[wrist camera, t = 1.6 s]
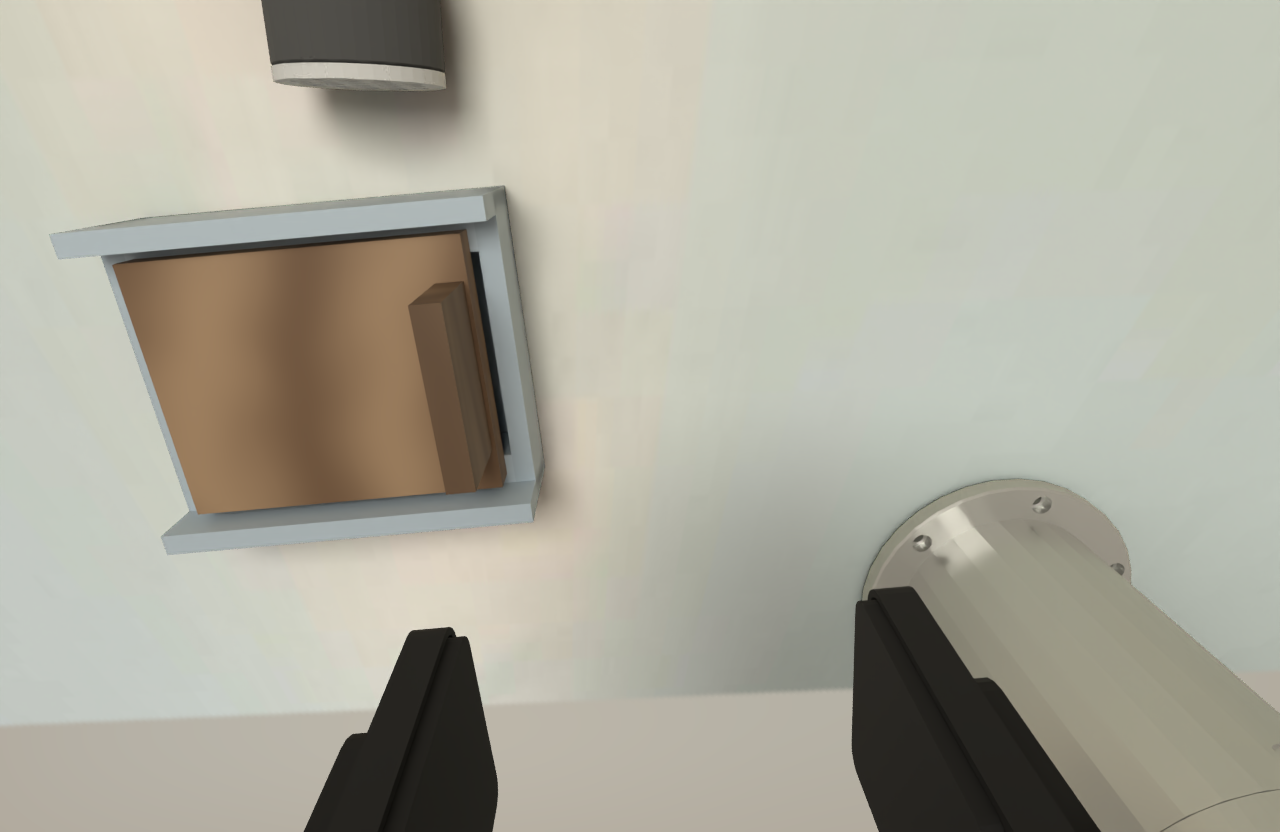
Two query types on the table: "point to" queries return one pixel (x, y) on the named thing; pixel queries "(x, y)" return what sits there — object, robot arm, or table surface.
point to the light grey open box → (339, 222)
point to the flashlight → (356, 44)
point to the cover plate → (320, 370)
